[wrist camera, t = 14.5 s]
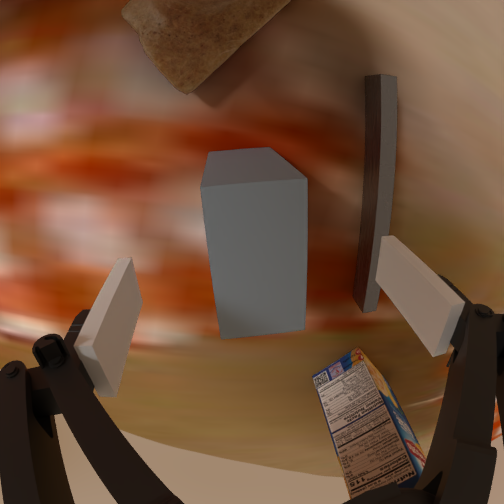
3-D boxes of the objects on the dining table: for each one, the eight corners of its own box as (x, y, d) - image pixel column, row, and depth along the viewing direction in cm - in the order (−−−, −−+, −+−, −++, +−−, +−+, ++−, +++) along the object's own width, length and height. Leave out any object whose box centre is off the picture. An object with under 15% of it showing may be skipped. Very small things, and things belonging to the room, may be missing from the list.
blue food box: (357, 345, 36) (431, 504, 17) (388, 382, 41) (448, 507, 21) (311, 375, 38) (360, 536, 18) (348, 406, 42) (395, 534, 22)
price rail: (352, 296, 33) (362, 312, 30) (364, 76, 23) (380, 74, 21) (367, 294, 33) (378, 310, 30) (382, 78, 23) (399, 76, 21)
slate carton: (208, 151, 25) (200, 187, 14) (272, 146, 26) (312, 178, 15) (219, 251, 29) (221, 339, 18) (276, 245, 29) (309, 329, 19)
